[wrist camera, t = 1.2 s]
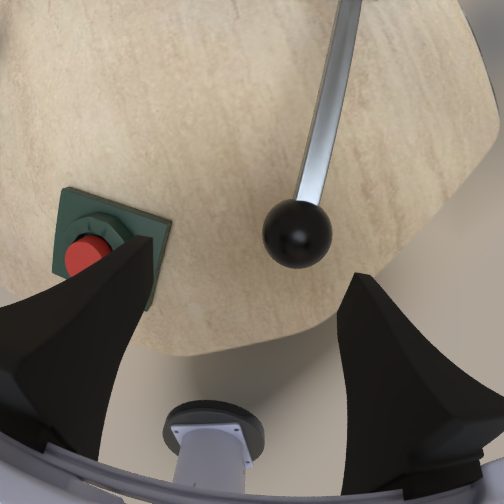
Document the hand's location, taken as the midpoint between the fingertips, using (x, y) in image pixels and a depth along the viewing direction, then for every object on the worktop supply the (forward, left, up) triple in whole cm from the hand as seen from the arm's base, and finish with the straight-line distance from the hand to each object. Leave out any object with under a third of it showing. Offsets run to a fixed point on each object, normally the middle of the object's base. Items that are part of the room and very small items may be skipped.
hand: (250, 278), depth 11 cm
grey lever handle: (+11, -7, -7) cm, 15 cm away
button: (-1, +13, -11) cm, 17 cm away
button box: (-1, +13, -14) cm, 19 cm away
